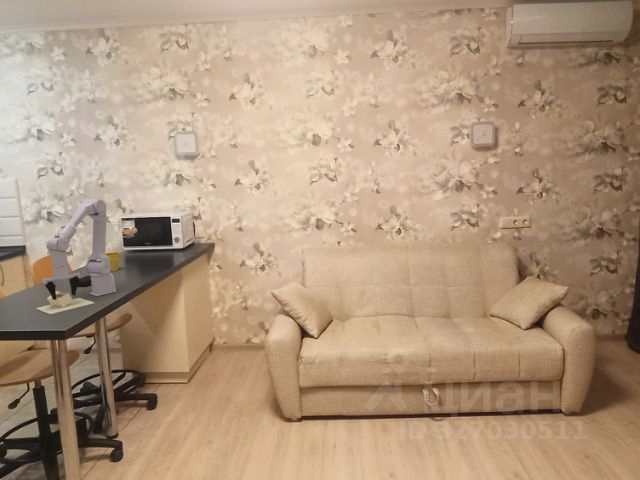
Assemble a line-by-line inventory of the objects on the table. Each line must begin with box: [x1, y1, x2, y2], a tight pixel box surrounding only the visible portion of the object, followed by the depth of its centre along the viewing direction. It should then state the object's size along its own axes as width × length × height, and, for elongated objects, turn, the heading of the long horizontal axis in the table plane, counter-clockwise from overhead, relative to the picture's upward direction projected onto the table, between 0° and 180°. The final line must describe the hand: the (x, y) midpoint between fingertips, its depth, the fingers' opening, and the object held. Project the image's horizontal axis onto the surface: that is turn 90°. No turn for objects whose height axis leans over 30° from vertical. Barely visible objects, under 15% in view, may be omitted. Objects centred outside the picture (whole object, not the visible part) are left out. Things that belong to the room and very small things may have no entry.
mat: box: [35, 297, 95, 316], centre depth 198 cm, size 18×14×1 cm
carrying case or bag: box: [77, 275, 92, 288], centre depth 238 cm, size 11×3×15 cm
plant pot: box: [105, 251, 122, 273], centre depth 267 cm, size 10×10×10 cm
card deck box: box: [46, 290, 74, 308], centre depth 198 cm, size 8×5×4 cm, turn 63°
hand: (64, 297), depth 198 cm, fingers open, 7 cm apart
